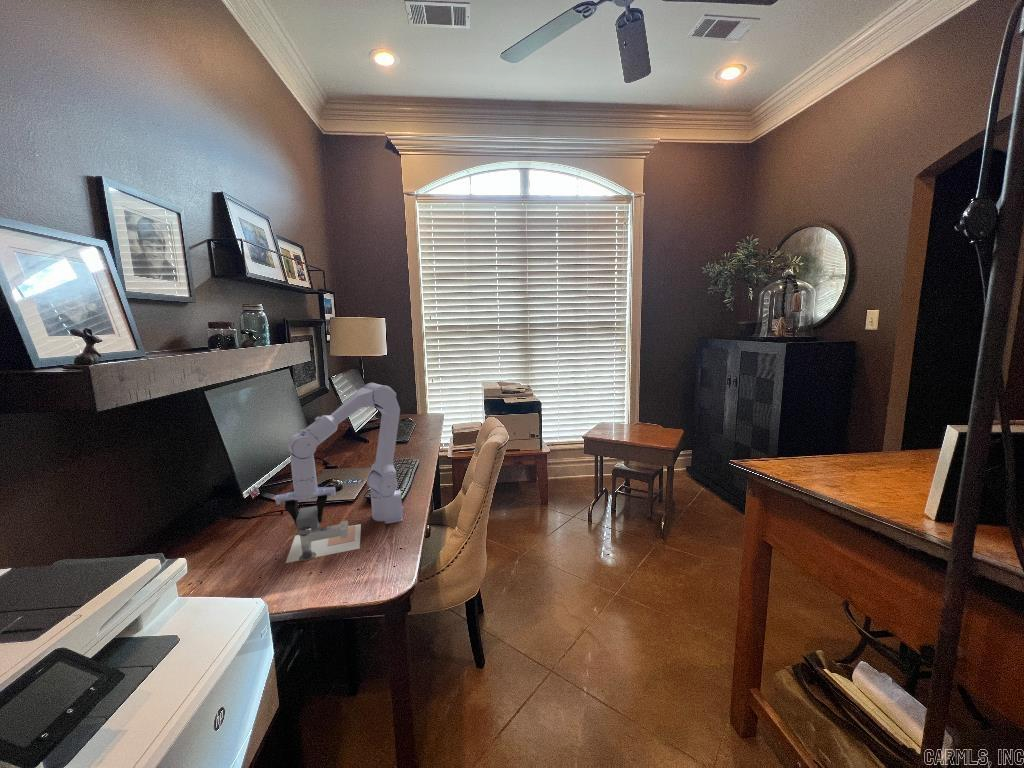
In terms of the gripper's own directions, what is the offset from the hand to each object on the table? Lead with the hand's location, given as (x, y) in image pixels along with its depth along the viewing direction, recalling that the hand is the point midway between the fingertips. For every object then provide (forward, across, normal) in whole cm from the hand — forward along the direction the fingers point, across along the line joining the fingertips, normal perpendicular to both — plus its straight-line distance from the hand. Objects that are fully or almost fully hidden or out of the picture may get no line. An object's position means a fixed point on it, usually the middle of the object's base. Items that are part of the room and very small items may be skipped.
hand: (309, 522), depth 108 cm
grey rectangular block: (+1, 0, 0) cm, 1 cm away
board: (+7, -4, +1) cm, 8 cm away
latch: (+6, -4, +7) cm, 10 cm away
